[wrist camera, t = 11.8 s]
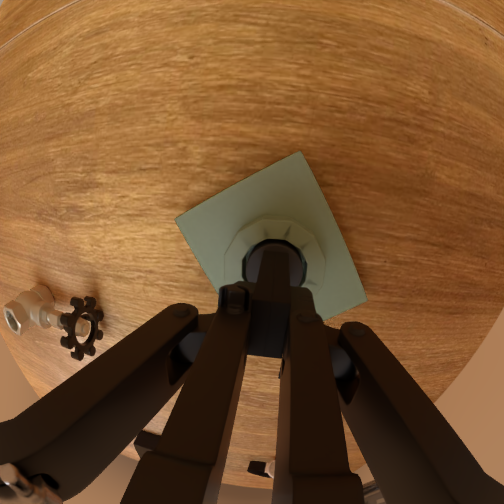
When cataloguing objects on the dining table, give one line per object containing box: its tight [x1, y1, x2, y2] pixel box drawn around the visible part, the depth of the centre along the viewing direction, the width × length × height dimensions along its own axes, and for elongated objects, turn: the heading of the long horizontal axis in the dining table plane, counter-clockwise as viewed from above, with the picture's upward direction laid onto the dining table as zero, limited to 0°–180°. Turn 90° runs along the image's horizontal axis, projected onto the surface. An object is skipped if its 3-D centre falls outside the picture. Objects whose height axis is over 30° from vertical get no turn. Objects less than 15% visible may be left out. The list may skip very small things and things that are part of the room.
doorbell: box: [174, 151, 368, 321], centre depth 19 cm, size 12×10×4 cm
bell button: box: [246, 239, 303, 287], centre depth 18 cm, size 4×4×2 cm
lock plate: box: [133, 430, 161, 459], centre depth 30 cm, size 12×9×3 cm
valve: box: [4, 285, 104, 361], centre depth 22 cm, size 7×7×12 cm
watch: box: [247, 460, 275, 479], centre depth 29 cm, size 8×5×4 cm, turn 71°
